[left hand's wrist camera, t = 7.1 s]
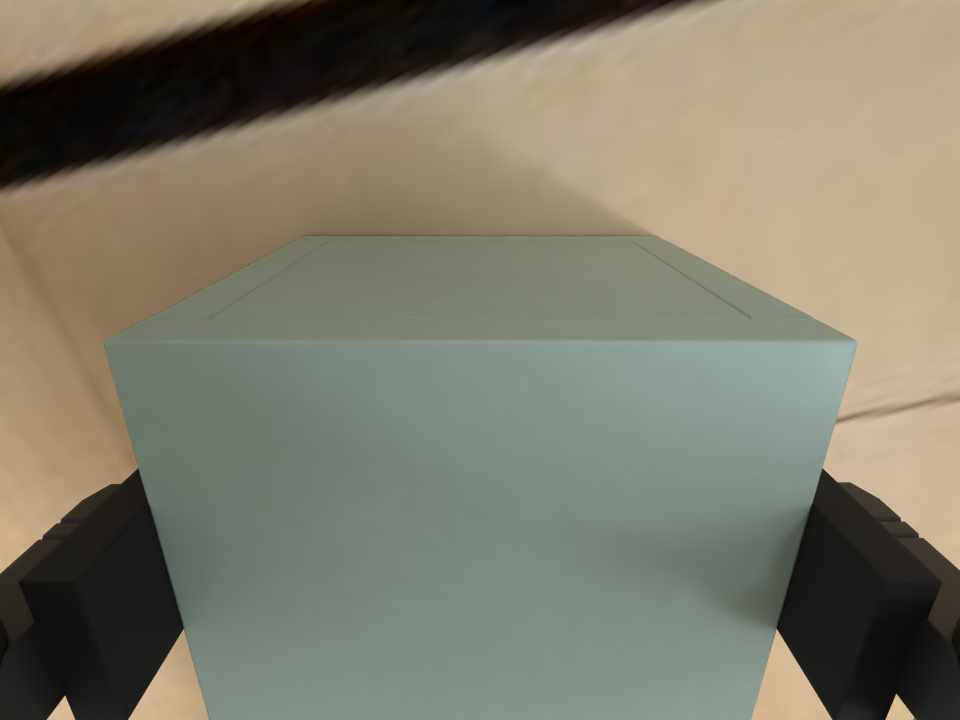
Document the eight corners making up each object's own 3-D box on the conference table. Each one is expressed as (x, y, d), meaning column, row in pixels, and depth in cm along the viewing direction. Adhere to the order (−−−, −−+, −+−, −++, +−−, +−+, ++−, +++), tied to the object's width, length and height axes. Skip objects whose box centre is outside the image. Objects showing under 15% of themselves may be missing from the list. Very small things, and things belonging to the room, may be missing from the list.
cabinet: (597, 726, 24) (661, 1041, 16) (362, 726, 24) (298, 1041, 16) (658, 235, 16) (861, 340, 7) (301, 235, 16) (100, 340, 7)
